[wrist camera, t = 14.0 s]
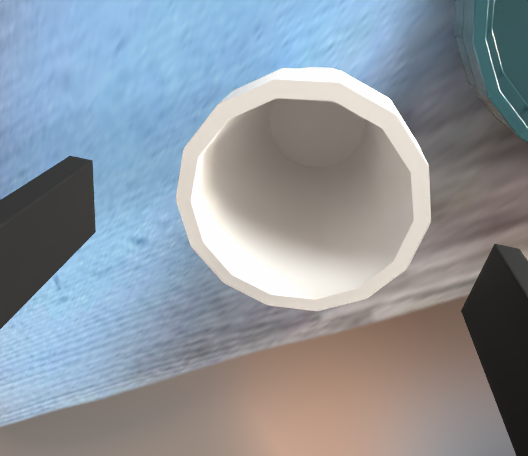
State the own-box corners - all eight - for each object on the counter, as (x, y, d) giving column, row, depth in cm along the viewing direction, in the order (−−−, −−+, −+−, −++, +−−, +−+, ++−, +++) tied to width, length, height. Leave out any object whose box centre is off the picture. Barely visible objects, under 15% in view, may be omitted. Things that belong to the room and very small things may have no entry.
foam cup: (243, 181, 30) (184, 295, 19) (243, 36, 26) (164, 74, 15) (383, 192, 29) (408, 321, 18) (408, 42, 25) (461, 88, 13)
